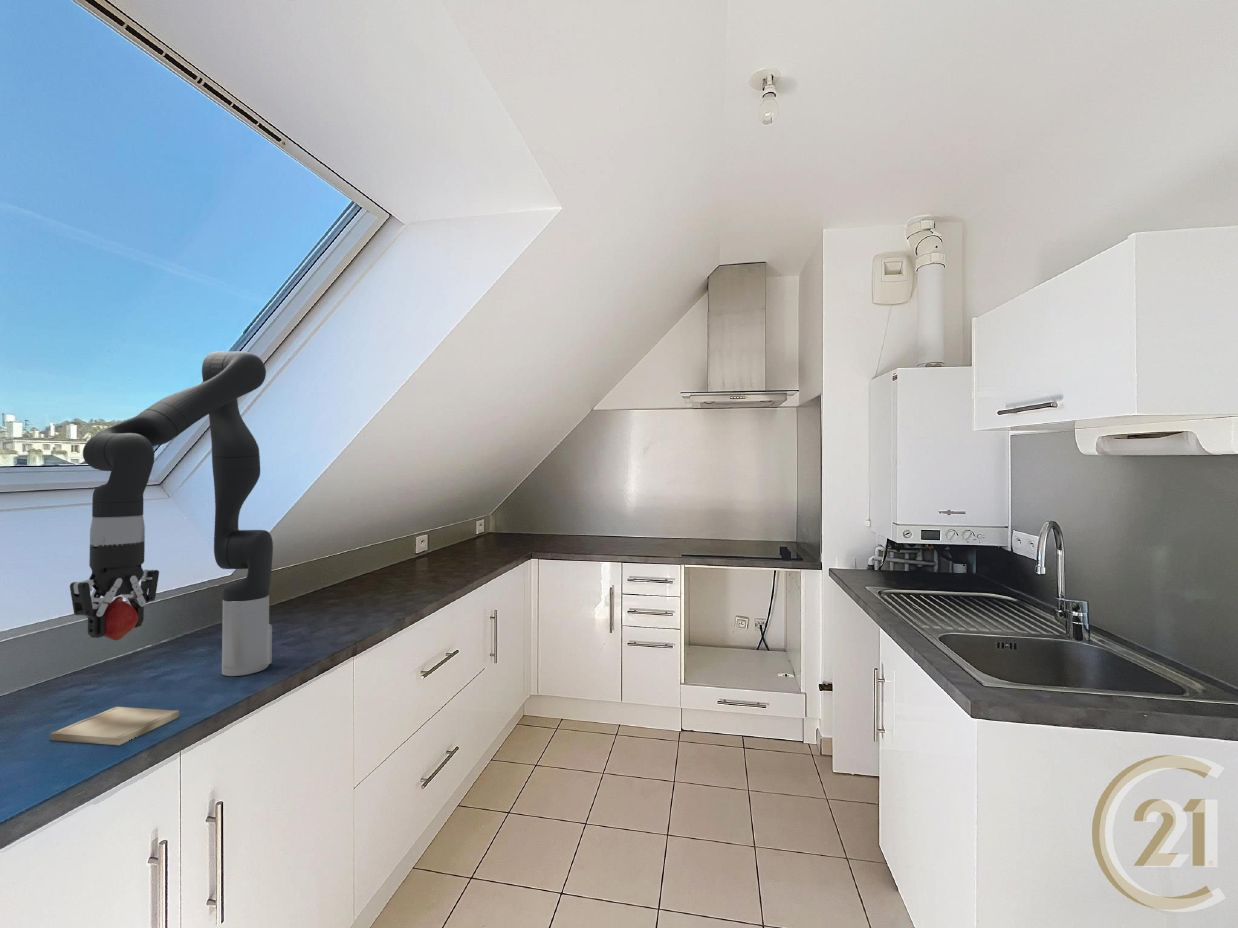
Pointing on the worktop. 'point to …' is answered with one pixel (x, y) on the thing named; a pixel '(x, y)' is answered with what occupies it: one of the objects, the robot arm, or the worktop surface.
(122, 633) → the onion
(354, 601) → the worktop surface
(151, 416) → the robot arm
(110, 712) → the board
